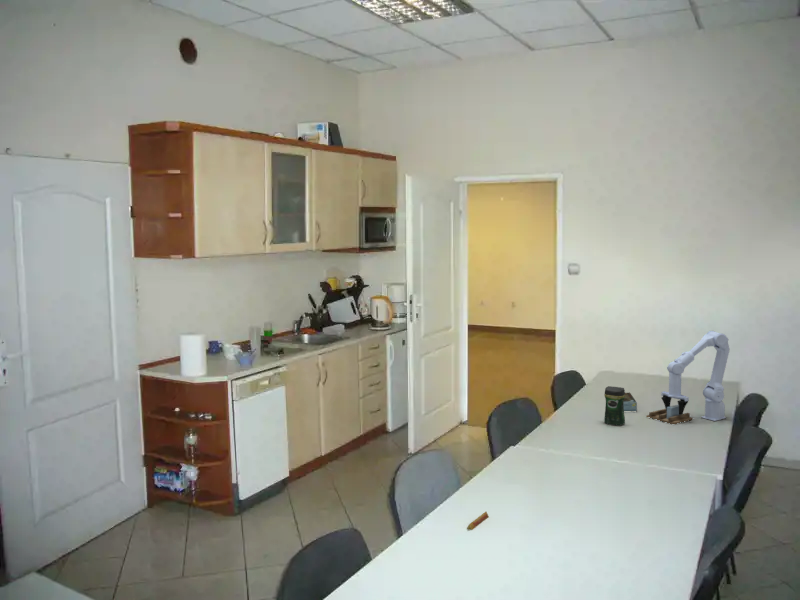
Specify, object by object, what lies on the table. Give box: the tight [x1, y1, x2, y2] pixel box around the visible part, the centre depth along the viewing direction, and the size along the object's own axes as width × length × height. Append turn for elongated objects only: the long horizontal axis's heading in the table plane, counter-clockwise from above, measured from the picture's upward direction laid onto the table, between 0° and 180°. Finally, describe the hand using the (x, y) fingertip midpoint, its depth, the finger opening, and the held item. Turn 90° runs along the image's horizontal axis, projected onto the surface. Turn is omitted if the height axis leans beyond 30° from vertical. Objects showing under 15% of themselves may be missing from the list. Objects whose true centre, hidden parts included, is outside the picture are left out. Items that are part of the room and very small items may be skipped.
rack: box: [645, 408, 694, 425], centre depth 347 cm, size 15×16×3 cm
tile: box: [667, 404, 680, 419], centre depth 345 cm, size 9×2×6 cm, turn 122°
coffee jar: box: [603, 385, 626, 426], centre depth 340 cm, size 10×8×19 cm
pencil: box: [466, 511, 490, 531], centre depth 231 cm, size 3×12×2 cm, turn 146°
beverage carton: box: [624, 392, 638, 411], centre depth 370 cm, size 8×19×7 cm, turn 171°
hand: (674, 412), depth 345 cm, fingers open, 7 cm apart
